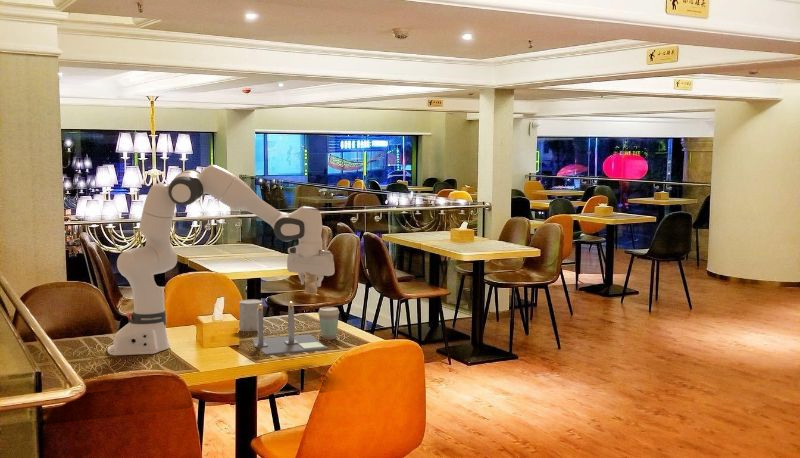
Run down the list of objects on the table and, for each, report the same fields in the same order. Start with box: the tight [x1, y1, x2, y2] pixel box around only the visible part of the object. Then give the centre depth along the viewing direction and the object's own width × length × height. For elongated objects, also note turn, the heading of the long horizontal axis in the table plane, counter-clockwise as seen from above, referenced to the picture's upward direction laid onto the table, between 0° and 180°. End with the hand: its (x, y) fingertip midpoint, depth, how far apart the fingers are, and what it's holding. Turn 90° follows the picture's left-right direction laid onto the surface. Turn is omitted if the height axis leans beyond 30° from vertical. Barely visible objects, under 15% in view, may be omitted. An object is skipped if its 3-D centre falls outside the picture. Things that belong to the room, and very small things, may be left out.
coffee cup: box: [317, 306, 340, 341], centre depth 332 cm, size 8×8×12 cm
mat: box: [251, 334, 329, 357], centre depth 320 cm, size 24×24×1 cm
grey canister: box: [238, 298, 263, 332], centre depth 345 cm, size 10×10×12 cm
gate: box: [253, 301, 298, 349], centre depth 317 cm, size 16×4×16 cm, turn 112°
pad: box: [299, 341, 326, 349], centre depth 316 cm, size 8×8×1 cm
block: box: [304, 272, 318, 295], centre depth 313 cm, size 4×4×8 cm
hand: (310, 285), depth 314 cm, fingers closed on block, 5 cm apart
